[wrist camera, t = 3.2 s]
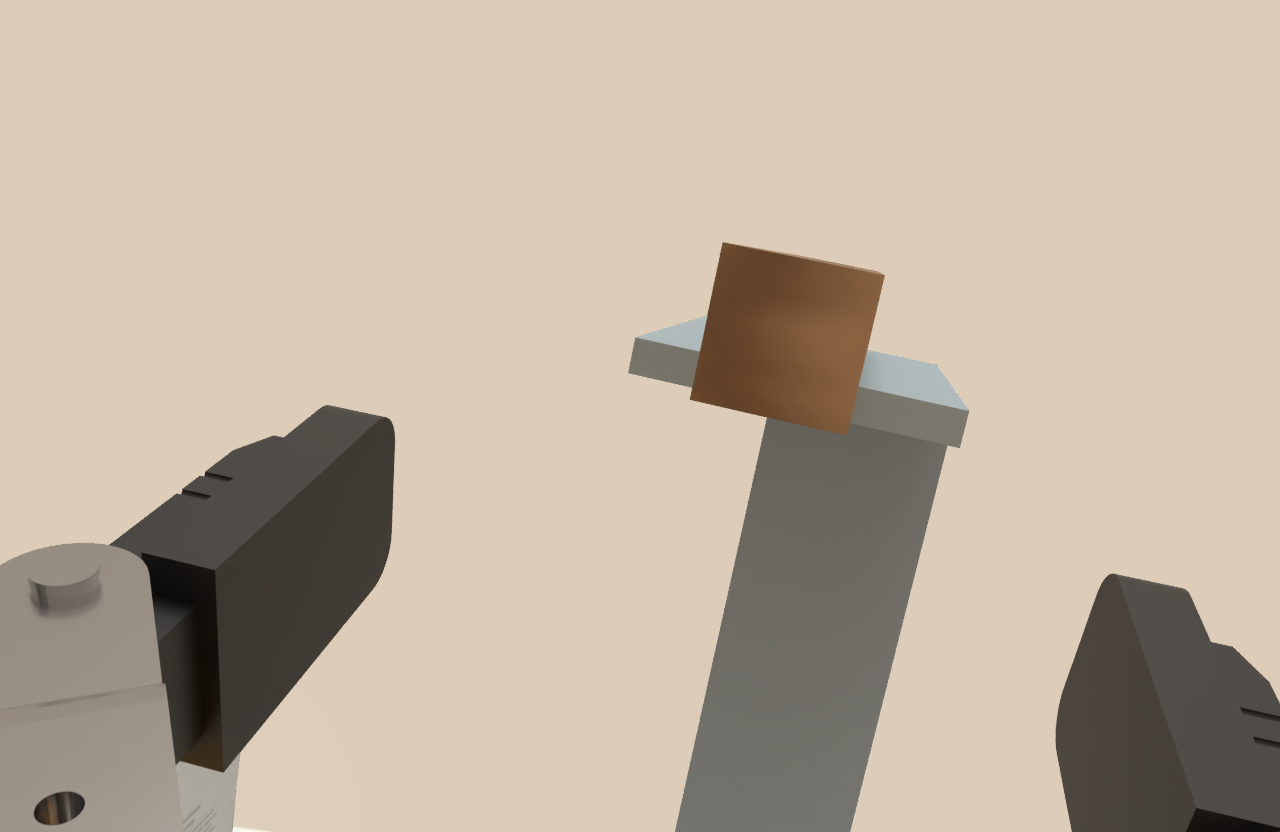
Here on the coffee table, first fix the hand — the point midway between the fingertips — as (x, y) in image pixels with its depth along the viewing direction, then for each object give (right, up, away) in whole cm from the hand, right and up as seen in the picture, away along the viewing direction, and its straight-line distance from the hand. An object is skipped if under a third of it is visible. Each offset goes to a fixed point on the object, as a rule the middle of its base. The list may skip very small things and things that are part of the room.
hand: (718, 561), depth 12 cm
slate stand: (-2, -27, +29) cm, 40 cm away
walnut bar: (+4, +3, +18) cm, 19 cm away
